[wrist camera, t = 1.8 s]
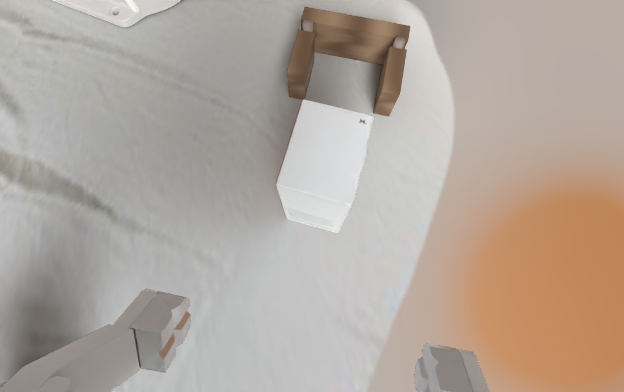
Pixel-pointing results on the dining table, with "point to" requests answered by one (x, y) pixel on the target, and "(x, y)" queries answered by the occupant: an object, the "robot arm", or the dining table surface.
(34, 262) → the dining table surface
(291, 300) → the dining table surface
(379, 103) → the brown u-shaped piece
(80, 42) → the dining table surface
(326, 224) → the small box
